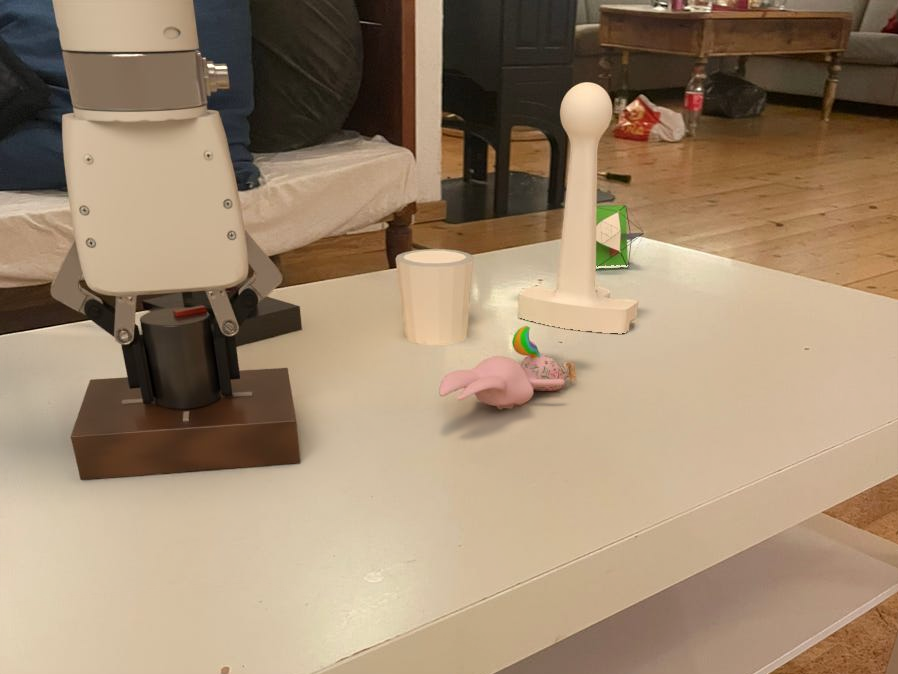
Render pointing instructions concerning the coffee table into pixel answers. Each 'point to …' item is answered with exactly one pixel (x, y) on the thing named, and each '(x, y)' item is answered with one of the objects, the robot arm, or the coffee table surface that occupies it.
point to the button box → (258, 326)
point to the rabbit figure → (509, 376)
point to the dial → (181, 357)
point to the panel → (185, 429)
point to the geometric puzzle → (613, 236)
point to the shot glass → (435, 295)
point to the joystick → (580, 230)
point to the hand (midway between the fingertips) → (186, 390)
